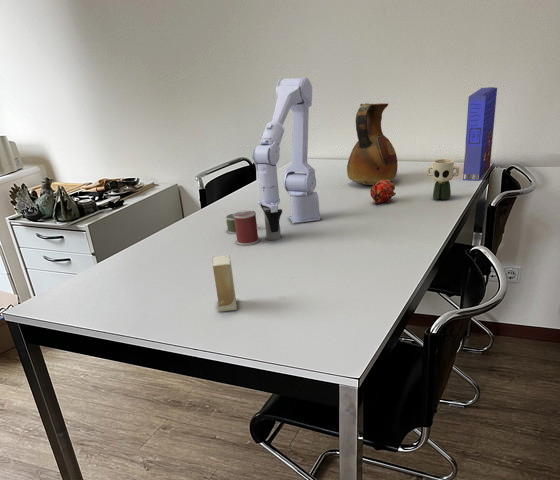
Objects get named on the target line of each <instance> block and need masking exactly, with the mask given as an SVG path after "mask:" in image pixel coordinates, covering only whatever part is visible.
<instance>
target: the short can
mask: <svg viewBox="0 0 560 480" xmlns="http://www.w3.org/2000/svg"><path fill="white" fill-rule="evenodd" d="M234 213H235V212H234ZM234 213H230V214H227V215H226V216H225V219H226V226H227V232H228V234H231V235H233V234H235V235H236V228H235V220H234Z"/></svg>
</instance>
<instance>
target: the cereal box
mask: <svg viewBox="0 0 560 480" xmlns="http://www.w3.org/2000/svg"><path fill="white" fill-rule="evenodd" d="M497 95H498V87H491V86H490V87H489V86H488V87H481V88H479V89H478V90H476V91H475V92H472V94H470V95H469V96H468V102H467V115H466V116H467V117H466V131H465V144H464V145H465V146H464V159H463V174H462V175H463V177H462V180H463V181H480V180H481V178H482V177H483V176H484V175H485V174H486V173H487V171H488V170H489V169H490V168H491V161H492V150H493V141H494V140H493V138H494V130H495V129H494V127H495V118H496V105H497Z"/></svg>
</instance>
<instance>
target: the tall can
mask: <svg viewBox="0 0 560 480" xmlns="http://www.w3.org/2000/svg"><path fill="white" fill-rule="evenodd" d="M234 220H235V228H236V234H235V235H236V243H237V244H238V245H241V246H250V245H254V244H256V243H259V242H260V240H259V234H258V233H259V232H258V223H257V213H256V211H255V210H251V209H250V210H249V209H247V210H240V211H236V212H234Z"/></svg>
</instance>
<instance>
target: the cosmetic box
mask: <svg viewBox="0 0 560 480" xmlns="http://www.w3.org/2000/svg"><path fill="white" fill-rule="evenodd" d="M211 262H212V270H213V276H214V277H213V278H214V284H215V289H216V297H217V304H218V309H219V312H221V313H222V312H229V311H230V312H231V311H236V310H238V309H237V308H238V306H237V297H236V289H235V281H234V273H233V268H232V260H231V255H230V254H226V255H220V256H219V255H218V256H213V257H212V261H211Z"/></svg>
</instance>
